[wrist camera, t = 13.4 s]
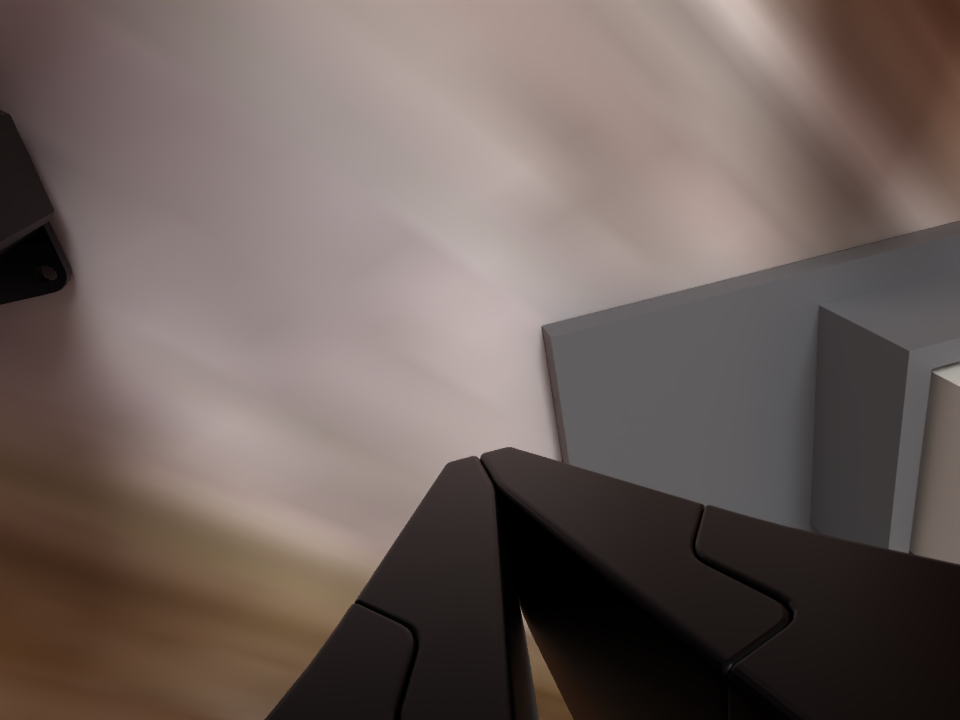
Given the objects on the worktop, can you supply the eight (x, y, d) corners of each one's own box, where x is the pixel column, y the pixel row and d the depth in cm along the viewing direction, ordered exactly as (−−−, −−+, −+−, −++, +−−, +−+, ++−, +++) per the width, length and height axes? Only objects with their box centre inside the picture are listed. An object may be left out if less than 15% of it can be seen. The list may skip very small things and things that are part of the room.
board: (609, 764, 32) (654, 878, 28) (541, 326, 22) (595, 393, 18) (983, 643, 34) (1081, 731, 30) (1075, 192, 24) (1242, 222, 20)
